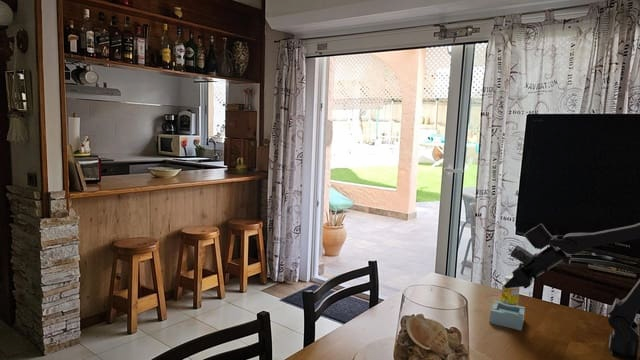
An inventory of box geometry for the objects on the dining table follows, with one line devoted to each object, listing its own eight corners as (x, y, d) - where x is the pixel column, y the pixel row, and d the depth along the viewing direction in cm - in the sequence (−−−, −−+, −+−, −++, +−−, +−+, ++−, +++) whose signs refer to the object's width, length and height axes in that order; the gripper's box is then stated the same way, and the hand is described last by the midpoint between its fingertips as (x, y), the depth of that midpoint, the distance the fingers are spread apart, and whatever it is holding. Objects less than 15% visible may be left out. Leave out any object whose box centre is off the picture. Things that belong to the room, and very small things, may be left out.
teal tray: (523, 319, 151) (525, 307, 151) (521, 330, 142) (522, 317, 142) (493, 312, 156) (494, 300, 155) (489, 322, 147) (490, 310, 147)
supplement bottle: (521, 307, 146) (523, 280, 145) (506, 307, 145) (508, 280, 144) (511, 300, 151) (514, 274, 150) (497, 301, 151) (500, 274, 149)
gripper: (533, 235, 151) (497, 259, 158) (521, 245, 136) (483, 271, 143) (556, 261, 147) (518, 285, 155) (547, 275, 132) (506, 300, 140)
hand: (506, 284), depth 148 cm, fingers closed on supplement bottle, 5 cm apart
